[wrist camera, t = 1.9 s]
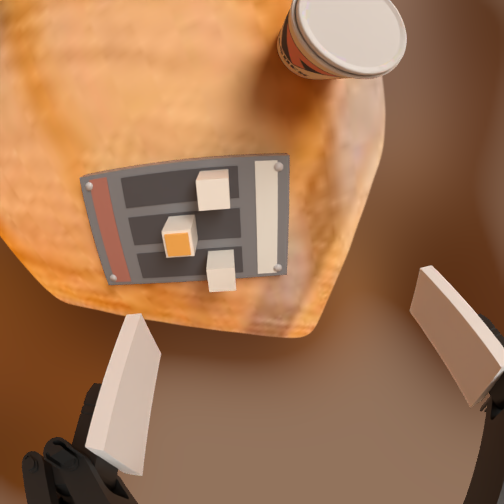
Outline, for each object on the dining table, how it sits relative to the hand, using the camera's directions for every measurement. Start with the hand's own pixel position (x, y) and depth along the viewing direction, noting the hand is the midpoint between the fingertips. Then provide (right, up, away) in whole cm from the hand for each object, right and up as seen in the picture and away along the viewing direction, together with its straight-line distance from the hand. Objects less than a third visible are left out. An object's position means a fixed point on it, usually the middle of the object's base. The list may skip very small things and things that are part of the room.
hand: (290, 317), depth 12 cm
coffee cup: (+5, +25, +12) cm, 28 cm away
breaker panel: (-10, +6, +20) cm, 23 cm away
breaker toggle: (-9, +6, +19) cm, 22 cm away
